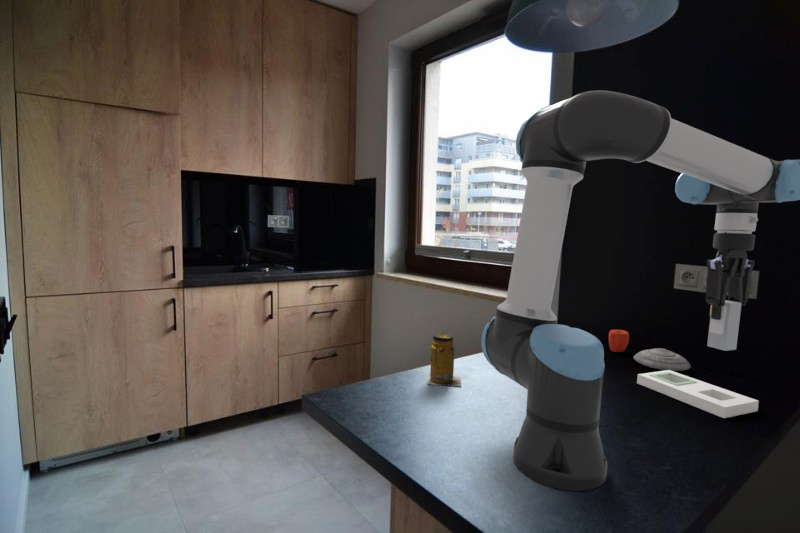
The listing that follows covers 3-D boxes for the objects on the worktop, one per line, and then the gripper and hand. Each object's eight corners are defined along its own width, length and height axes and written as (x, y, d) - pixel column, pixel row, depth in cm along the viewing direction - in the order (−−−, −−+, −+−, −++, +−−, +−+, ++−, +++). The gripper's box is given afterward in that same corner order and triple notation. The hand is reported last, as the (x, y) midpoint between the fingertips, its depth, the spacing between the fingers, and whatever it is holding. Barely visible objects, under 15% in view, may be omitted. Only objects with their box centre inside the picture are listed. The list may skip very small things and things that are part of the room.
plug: (725, 350, 99) (730, 303, 98) (704, 345, 104) (709, 299, 103) (736, 349, 101) (741, 302, 100) (715, 344, 105) (720, 299, 104)
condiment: (429, 375, 118) (431, 331, 117) (460, 377, 117) (463, 333, 116) (427, 384, 111) (429, 338, 110) (461, 387, 110) (463, 341, 109)
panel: (723, 418, 96) (725, 406, 96) (636, 383, 116) (637, 373, 116) (757, 411, 101) (758, 399, 100) (668, 378, 121) (669, 369, 121)
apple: (623, 355, 142) (625, 333, 141) (604, 351, 146) (605, 329, 146) (631, 352, 146) (632, 330, 145) (612, 348, 150) (614, 326, 150)
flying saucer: (622, 359, 139) (623, 342, 138) (664, 358, 141) (665, 341, 141) (657, 375, 124) (658, 356, 124) (703, 374, 126) (704, 355, 126)
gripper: (727, 231, 93) (716, 339, 95) (776, 233, 99) (763, 334, 101) (692, 230, 100) (682, 330, 102) (740, 232, 106) (729, 326, 108)
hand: (723, 332), depth 102 cm, fingers closed on plug, 4 cm apart
